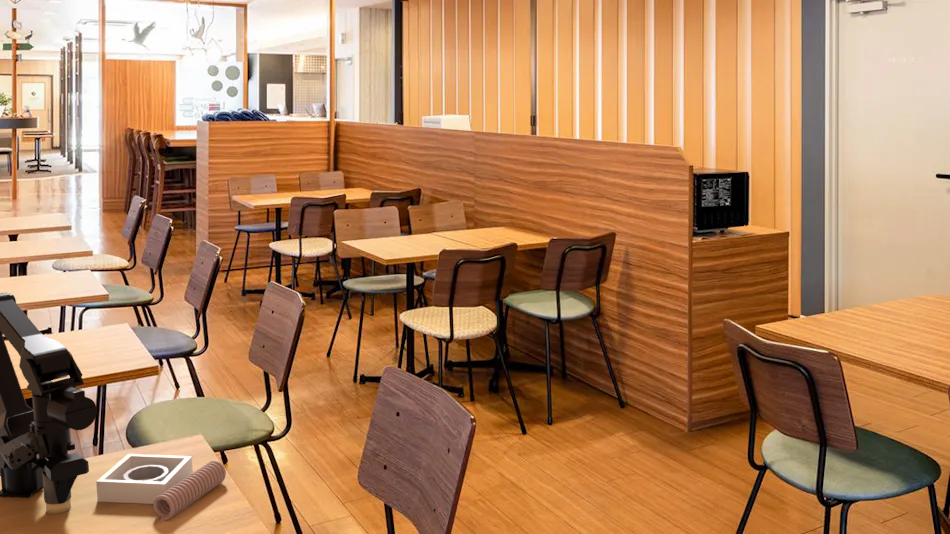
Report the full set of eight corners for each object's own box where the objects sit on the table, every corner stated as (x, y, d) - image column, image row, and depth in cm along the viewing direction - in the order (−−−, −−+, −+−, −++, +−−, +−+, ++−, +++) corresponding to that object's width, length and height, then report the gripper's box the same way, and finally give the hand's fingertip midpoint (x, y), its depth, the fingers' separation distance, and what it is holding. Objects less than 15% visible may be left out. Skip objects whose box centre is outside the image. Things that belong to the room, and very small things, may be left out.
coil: (172, 500, 150) (229, 461, 167) (150, 494, 151) (208, 456, 168) (171, 524, 151) (228, 483, 168) (149, 518, 152) (207, 478, 169)
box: (97, 501, 158) (96, 481, 157) (129, 472, 171) (128, 453, 170) (165, 504, 157) (164, 484, 157) (192, 475, 170) (191, 456, 169)
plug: (40, 514, 153) (36, 472, 151) (53, 503, 157) (50, 462, 156) (64, 515, 153) (60, 473, 151) (76, 504, 157) (73, 463, 156)
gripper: (-12, 412, 153) (-5, 493, 156) (16, 443, 140) (23, 531, 142) (54, 399, 161) (60, 477, 163) (86, 427, 147) (92, 511, 150)
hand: (57, 498), depth 155 cm, fingers closed on plug, 4 cm apart
